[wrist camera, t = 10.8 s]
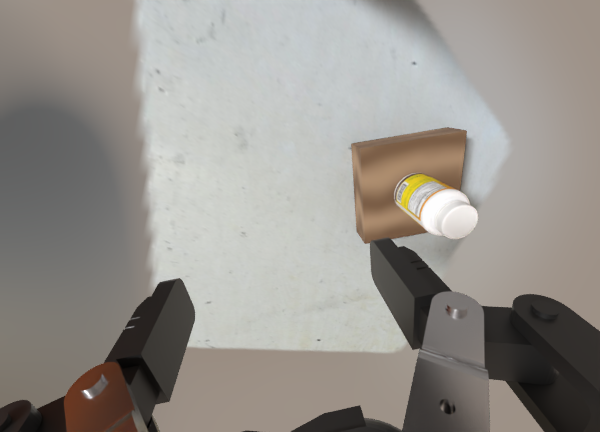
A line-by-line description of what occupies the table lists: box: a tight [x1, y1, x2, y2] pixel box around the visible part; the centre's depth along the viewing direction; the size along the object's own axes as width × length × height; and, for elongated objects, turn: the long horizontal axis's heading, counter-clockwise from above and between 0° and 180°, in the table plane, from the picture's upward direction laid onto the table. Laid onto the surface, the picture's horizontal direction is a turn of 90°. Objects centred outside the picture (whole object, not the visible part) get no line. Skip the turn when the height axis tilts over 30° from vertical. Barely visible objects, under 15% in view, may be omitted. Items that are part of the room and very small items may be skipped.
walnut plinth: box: [351, 127, 467, 244], centre depth 39 cm, size 14×14×4 cm
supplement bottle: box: [394, 173, 478, 239], centre depth 32 cm, size 6×6×10 cm
